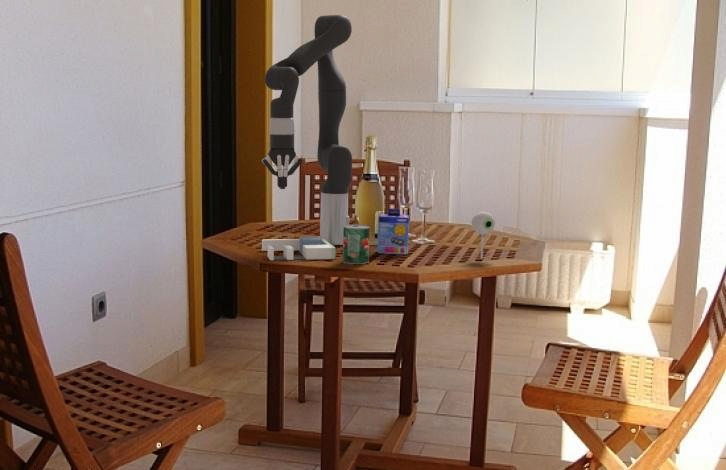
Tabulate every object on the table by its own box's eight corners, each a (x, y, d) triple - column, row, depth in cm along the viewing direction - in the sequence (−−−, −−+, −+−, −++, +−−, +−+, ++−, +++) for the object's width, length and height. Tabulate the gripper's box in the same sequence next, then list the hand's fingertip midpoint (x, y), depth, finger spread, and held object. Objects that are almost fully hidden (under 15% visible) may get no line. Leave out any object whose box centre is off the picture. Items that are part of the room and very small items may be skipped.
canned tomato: (372, 264, 276) (373, 227, 274) (346, 265, 273) (347, 228, 272) (364, 259, 283) (365, 224, 281) (339, 260, 281) (340, 224, 279)
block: (317, 251, 295) (318, 236, 294) (321, 255, 290) (322, 239, 289) (299, 252, 294) (299, 236, 293) (303, 255, 288) (303, 239, 287)
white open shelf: (323, 249, 299) (323, 238, 299) (335, 258, 283) (335, 247, 282) (261, 250, 294) (262, 239, 294) (270, 260, 278) (270, 248, 277)
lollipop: (477, 261, 285) (479, 213, 283) (465, 257, 291) (468, 210, 289) (497, 260, 288) (499, 212, 285) (485, 256, 294) (487, 209, 292)
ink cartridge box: (376, 253, 294) (378, 208, 292) (377, 250, 300) (378, 206, 297) (407, 254, 294) (409, 209, 291) (407, 251, 299) (409, 207, 297)
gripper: (300, 132, 289) (300, 187, 291) (258, 132, 285) (259, 187, 288) (305, 133, 282) (305, 189, 284) (262, 133, 278) (262, 190, 281)
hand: (282, 188), depth 286 cm, fingers closed
